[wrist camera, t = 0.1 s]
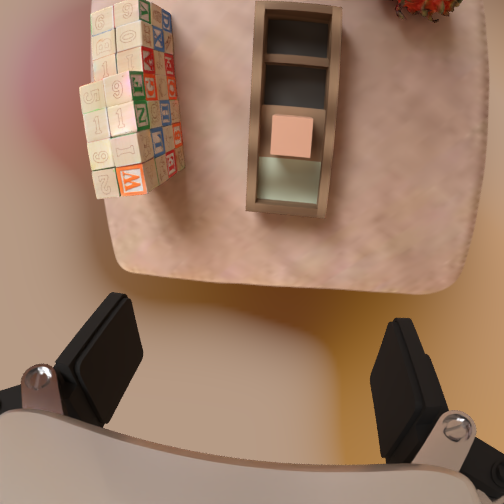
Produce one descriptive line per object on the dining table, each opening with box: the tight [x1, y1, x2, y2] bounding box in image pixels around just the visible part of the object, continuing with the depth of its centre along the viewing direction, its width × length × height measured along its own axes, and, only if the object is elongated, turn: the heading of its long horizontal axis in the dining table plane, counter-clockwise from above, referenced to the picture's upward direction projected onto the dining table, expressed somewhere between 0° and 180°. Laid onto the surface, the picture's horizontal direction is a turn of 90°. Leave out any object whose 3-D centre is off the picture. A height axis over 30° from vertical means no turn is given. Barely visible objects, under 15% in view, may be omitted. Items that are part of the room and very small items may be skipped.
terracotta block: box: [270, 114, 313, 158], centre depth 32 cm, size 4×4×4 cm
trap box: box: [246, 1, 342, 219], centre depth 33 cm, size 24×9×5 cm, turn 177°
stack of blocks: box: [79, 0, 185, 199], centre depth 31 cm, size 21×6×12 cm, turn 4°
